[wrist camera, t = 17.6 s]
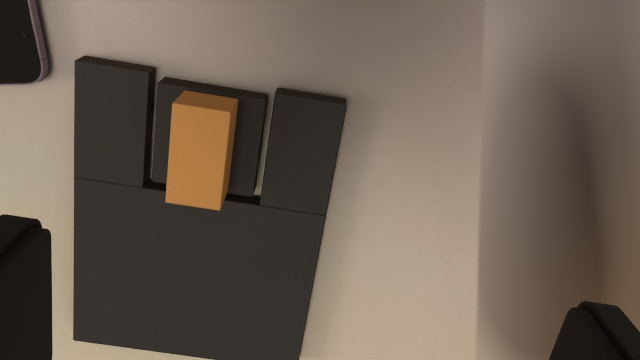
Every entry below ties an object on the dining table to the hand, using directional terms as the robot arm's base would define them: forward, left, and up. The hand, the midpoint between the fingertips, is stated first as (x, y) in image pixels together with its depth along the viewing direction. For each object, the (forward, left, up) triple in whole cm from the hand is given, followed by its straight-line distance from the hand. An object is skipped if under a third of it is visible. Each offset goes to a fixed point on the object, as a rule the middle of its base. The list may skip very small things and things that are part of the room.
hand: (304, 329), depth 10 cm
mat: (+12, -6, -26) cm, 29 cm away
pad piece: (+6, -6, -26) cm, 27 cm away
